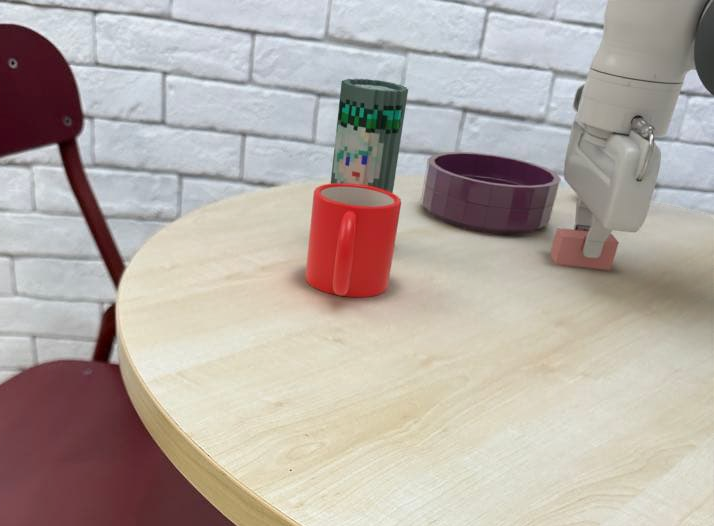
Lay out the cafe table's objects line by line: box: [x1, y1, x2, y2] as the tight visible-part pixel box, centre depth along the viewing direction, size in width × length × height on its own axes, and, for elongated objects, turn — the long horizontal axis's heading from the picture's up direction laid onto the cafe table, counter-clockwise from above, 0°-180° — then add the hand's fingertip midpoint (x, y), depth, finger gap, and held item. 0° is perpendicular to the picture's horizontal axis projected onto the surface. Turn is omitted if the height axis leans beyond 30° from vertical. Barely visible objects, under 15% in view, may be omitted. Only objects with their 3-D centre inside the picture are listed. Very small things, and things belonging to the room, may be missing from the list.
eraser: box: [549, 227, 620, 271], centre depth 91 cm, size 6×3×3 cm, turn 88°
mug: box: [305, 183, 402, 298], centre depth 76 cm, size 8×12×8 cm, turn 174°
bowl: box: [420, 151, 562, 235], centre depth 102 cm, size 16×16×6 cm
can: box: [330, 78, 409, 194], centre depth 85 cm, size 6×6×15 cm
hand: (584, 249), depth 91 cm, fingers closed on eraser, 3 cm apart
